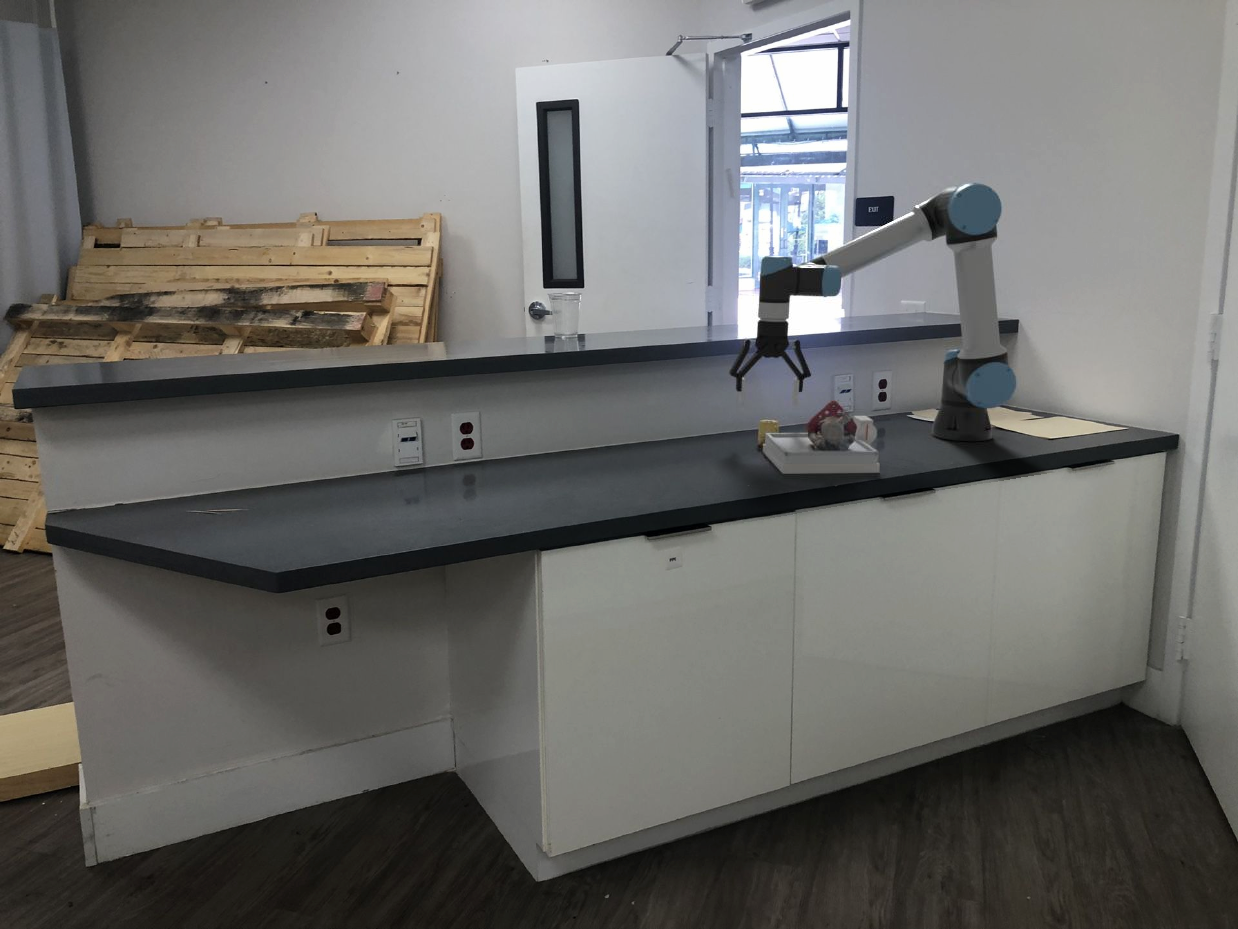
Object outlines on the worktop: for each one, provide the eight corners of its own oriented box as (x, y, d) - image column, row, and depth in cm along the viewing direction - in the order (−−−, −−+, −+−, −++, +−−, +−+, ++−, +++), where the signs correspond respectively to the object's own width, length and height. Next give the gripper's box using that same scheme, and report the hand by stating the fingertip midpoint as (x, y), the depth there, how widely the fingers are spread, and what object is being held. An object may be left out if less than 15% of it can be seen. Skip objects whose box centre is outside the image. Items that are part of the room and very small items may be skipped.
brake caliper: (853, 432, 229) (859, 397, 220) (855, 468, 222) (861, 434, 213) (805, 430, 231) (808, 396, 222) (805, 466, 224) (808, 432, 215)
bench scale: (866, 451, 239) (868, 415, 237) (896, 472, 218) (899, 433, 216) (762, 451, 238) (764, 415, 236) (782, 473, 216) (784, 434, 214)
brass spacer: (775, 442, 248) (776, 419, 247) (779, 447, 243) (780, 423, 242) (756, 443, 248) (757, 419, 247) (760, 447, 243) (761, 423, 242)
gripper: (819, 319, 243) (813, 402, 248) (720, 317, 241) (716, 401, 246) (827, 321, 235) (821, 407, 240) (725, 320, 234) (721, 406, 239)
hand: (768, 404), depth 243 cm, fingers open, 13 cm apart
